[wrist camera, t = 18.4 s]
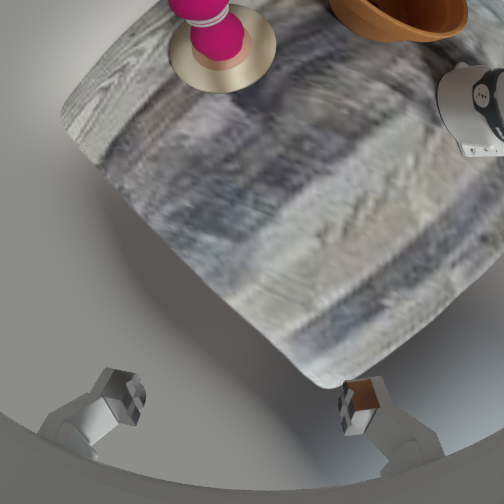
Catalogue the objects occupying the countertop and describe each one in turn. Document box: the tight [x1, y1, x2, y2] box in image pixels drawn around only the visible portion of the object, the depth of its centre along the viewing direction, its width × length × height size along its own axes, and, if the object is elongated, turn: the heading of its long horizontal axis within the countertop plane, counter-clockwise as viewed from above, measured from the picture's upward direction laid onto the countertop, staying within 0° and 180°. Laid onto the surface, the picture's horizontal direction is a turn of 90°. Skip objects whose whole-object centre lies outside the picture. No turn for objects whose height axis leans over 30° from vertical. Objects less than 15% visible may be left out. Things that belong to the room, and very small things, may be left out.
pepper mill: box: [169, 0, 244, 61], centre depth 23 cm, size 7×7×20 cm
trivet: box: [170, 5, 276, 93], centre depth 33 cm, size 16×16×1 cm
